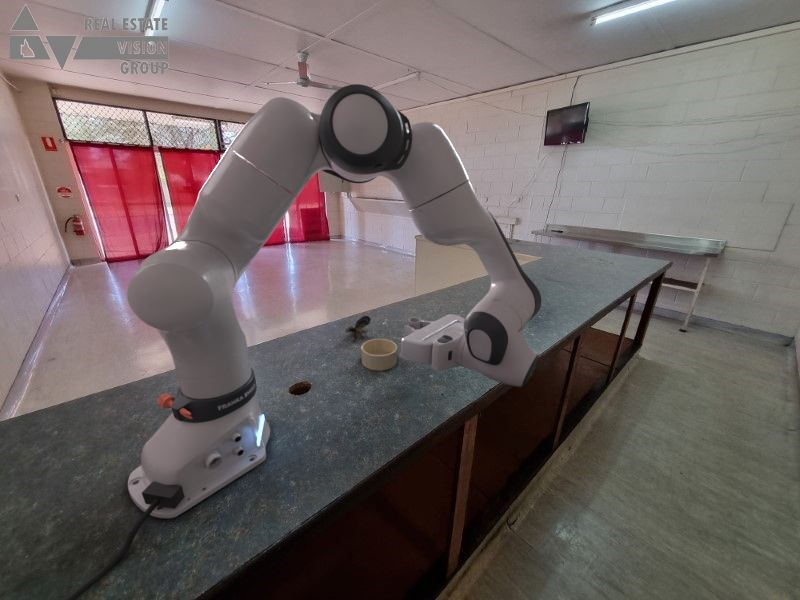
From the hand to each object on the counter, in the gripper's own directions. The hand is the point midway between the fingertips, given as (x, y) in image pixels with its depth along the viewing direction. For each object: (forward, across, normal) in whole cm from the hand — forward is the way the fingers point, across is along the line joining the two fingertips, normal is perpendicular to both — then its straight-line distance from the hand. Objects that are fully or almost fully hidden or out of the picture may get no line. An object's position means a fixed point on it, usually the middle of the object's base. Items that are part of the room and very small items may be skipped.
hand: (411, 325), depth 78 cm
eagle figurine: (+27, -6, +15) cm, 31 cm away
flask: (-1, 0, +8) cm, 8 cm away
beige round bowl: (+11, 0, +15) cm, 18 cm away
